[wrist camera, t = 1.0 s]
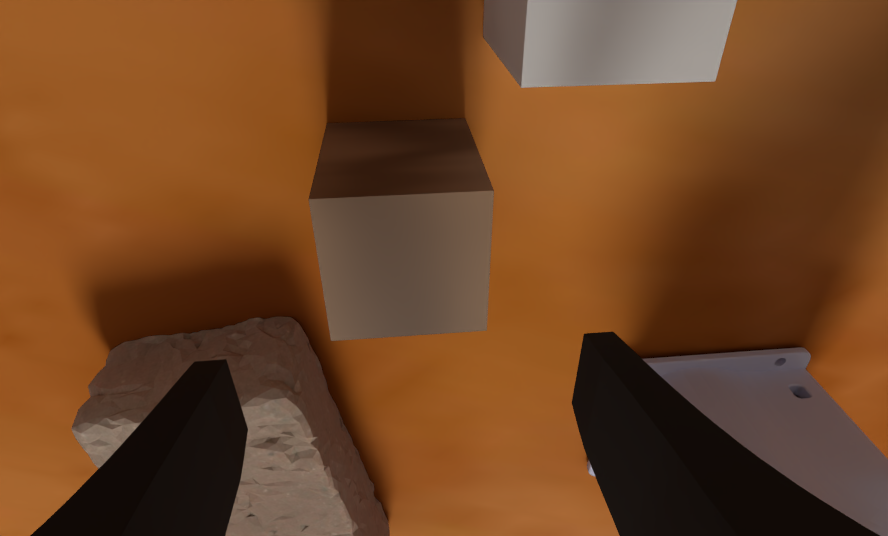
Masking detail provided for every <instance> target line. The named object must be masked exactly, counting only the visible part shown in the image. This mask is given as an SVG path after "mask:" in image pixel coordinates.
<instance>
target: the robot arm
mask: <svg viewBox="0 0 888 536" xmlns="http://www.w3.org/2000/svg"><path fill="white" fill-rule="evenodd" d="M810 358H811V355H810V353H809V352H808V351H807V350H806V349H805V348H801V347H799V348H785V349H771V350H757V351H744V352H730V353H716V354H702V355H689V356H675V357H661V358H647V359H642V358H641V357H640V356H638V355H637V354H636V353H635V352H634V351H633V350H632V349H631V348H630V347H629V346H628V345H627V344H626V343H625V342H624V341H622V340H621V339H620V338H619V337H618V336H617V335H616V334H615V333H614V332H602V333H588V334H584V337H583V343H582V348H581V354H580V360H579V365H578V371H577V377H576V382H575V388H574V393H573V399H572V405H573V409H574V413H575V417H576V421H577V424H578V428H579V432H580V435H581V439H582V442H583V446H584V449H585V452H586V454H587V457H588V464H587V469H588V472H589V474H590V475H592V476H596V479H597V481H598V484H599V486H600V489H601V491H602V494H603V496H604V498H605V501H606V503H607V506H608V508H609V511H610V513H611V515H612V518H613V520H614V523H615V525H616V528H617V530H618V532H619V535H620V536H888V459H887V458H886V457H885V456H884V455H883V453H882V452H881V451H880V450H879V449H878V448H877V447H876V446H875V445H874V444H873V443H872V441H871V440H870V439H869V438H868V437H867V436H866V435H865V434H864V433H863V432H862V430H861V429H860V428H859V427H858V426H857V425H856V424H855V423H854V422H853V421H852V419H851V418H850V417H849V416H848V415H847V414H846V413H845V412H844V411H843V410H842V408H841V407H840V406H839V405H838V404H837V403H836V402H835V401H834V400H833V399H832V397H831V396H830V395H829V394H828V393H827V392H826V391H825V390H824V389H823V388H822V387H821V385H820V384H819V383H818V382H817V381H816V380H815V379H814V378H813V377H812V376H811V374H810V373H809V372H808V371H807V370H806V367H807V365H808V363H809V361H810ZM247 433H248V427H247V424H246V421H245V417H244V414H243V411H242V408H241V405H240V401H239V398H238V395H237V392H236V389H235V385H234V382H233V379H232V376H231V373H230V369H229V366H228V363H227V360H226V359H223V360H209V361H195V362H194V363H193V364H192V365H191V366H190V367H189V368H188V369H187V370H186V371H185V373H184V374H183V375H182V376H181V377H180V378H179V379H178V381H177V382H176V383H175V384H174V385H173V386H172V388H171V389H170V390H169V391H168V392H167V393H166V395H165V396H164V397H163V398H162V399H161V400H160V402H159V403H158V404H157V405H156V406H155V407H154V409H153V410H152V411H151V412H150V413H149V414H148V415H147V417H146V418H145V419H144V420H143V421H142V422H141V423H140V425H139V426H138V427H137V428H136V429H135V430H134V431H133V432H132V433H131V435H130V436H129V437H128V438H127V439H126V440H125V441H124V442H123V443H122V445H121V446H120V447H119V448H118V449H117V450H116V451H115V452H114V453H113V454H112V456H111V457H110V458H109V459H108V460H107V461H106V462H105V463H104V464H103V465H102V466H101V467H100V468H99V469H98V470H97V471H96V472H95V473H94V474H93V475H92V476H91V477H90V478H89V479H88V480H87V481H86V482H85V483H84V484H83V486H82V487H81V488H80V489H79V490H78V491H77V492H76V493H75V494H74V495H73V496H72V497H71V498H70V499H69V500H68V501H67V502H66V503H65V504H64V505H63V506H62V507H61V508H60V509H58V510H57V511H56V512H55V513H54V514H53V515H52V516H51V517H50V518H49V519H48V520H47V521H46V522H45V523H44V524H43V525H42V526H41V527H39V528H38V529H37V530H36V531H35V532H34V533H33V534H32V535H31V536H225V535H226V531H227V528H228V524H229V520H230V517H231V513H232V509H233V506H234V502H235V498H236V495H237V491H238V487H239V483H240V480H241V474H242V468H243V462H244V455H245V448H246V441H247Z"/></svg>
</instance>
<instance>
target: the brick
mask: <svg viewBox="0 0 888 536" xmlns="http://www.w3.org/2000/svg"><path fill="white" fill-rule="evenodd" d="M223 359H226V360H227V363H228V366H229V369H230V373H231V376H232V379H233V382H234V385H235V389H236V392H237V395H238V398H239V401H240V405H241V408H242V411H243V414H244V417H245V421H246V424H247V427H248V433H247V441H246V448H245V455H244V462H243V468H242V474H241V480H240V483H239V487H238V491H237V495H236V498H235V502H234V506H233V509H232V513H231V517H230V520H229V524H228V528H227V531H226V535H225V536H390V533H389V524H388V520H387V518H386V516H385V514H384V511H383V509H382V505H381V503H380V502H379V501H378V500H377V499H376V498H375V497H374V484H373V483H372V482H371V481H370V480H369V477H368V474H367V472H366V470H365V468H364V465H363V463H362V461H361V459H360V455H359V452H358V450H357V449H356V447H355V446H354V445H353V442H352V438H351V436H350V434H349V433H348V430H347V428H346V427H345V425H344V424H343V420H342V417H341V415H340V413H339V411H338V408H337V406H336V404H335V402H334V400H333V399H332V397H331V395H330V393H329V392H328V387H327V382H326V379H325V377H324V375H323V371H322V367H321V365H320V362H319V360H318V357H317V356H316V354H315V352H314V351H313V349H312V347H311V345H310V343H309V340H308V337H307V336H306V334H305V332H304V331H303V329H302V327H301V326H300V324H299V323H298V322H297V321H295V320H294V319H293V318H291V317H272V318H268V319H262V318H252V319H248V320H246V321H244V322H242V323H237V324H236V325H233V326H225V327H224V328H221V329H212V330H201V331H199V332H193V333H191V334H187V333H179V334H174V335H155V336H147V337H144V338H141V339H138V340H133V341H128V342H124V343H121V344H120V345H118V346H117V347H115V348H114V349H112V350H111V351H110V353H109V355H108V358H107V360H106V366H105V367H104V368H103V369H102V370H101V371H100V372H99V373H98V374H97V375H96V376H95V378H94V379H93V380H92V382H91V383H90V384H89V386H88V388H89V392H90V396H91V397H90V398H89V399H88V400H87V401H86V402H85V403H84V404H83V405H82V406H81V407H80V409H79V410H78V412H77V415H76V418H75V420H74V423H73V426H72V431H73V433H74V436H75V437H76V440H77V441H78V442H79V443H80V445H81V446H82V448H83V449H84V450H85V451H86V453H88V455H89V456H90V458H91V460H92V461H93V463H94V464H95V465H96V466H97V467H98V469H99V468H100V467H101V466H102V465H103V464H104V463H105V462H106V461H107V460H108V459H109V458H110V457H111V456H112V454H113V453H114V452H115V451H116V450H117V449H118V448H119V447H120V446H121V445H122V443H123V442H124V441H125V440H126V439H127V438H128V437H129V436H130V435H131V433H132V432H133V431H134V430H135V429H136V428H137V427H138V426H139V425H140V423H141V422H142V421H143V420H144V419H145V418H146V417H147V415H148V414H149V413H150V412H151V411H152V410H153V409H154V407H155V406H156V405H157V404H158V403H159V402H160V400H161V399H162V398H163V397H164V396H165V395H166V393H167V392H168V391H169V390H170V389H171V388H172V386H173V385H174V384H175V383H176V382H177V381H178V379H179V378H180V377H181V376H182V375H183V374H184V373H185V371H186V370H187V369H188V368H189V367H190V366H191V365H192V364H193V363H194V362H195V361H209V360H223Z"/></svg>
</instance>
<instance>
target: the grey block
mask: <svg viewBox="0 0 888 536" xmlns="http://www.w3.org/2000/svg"><path fill="white" fill-rule="evenodd" d="M736 2H737V0H484V22H483V38H484V39H485V40H486V42H487V43H488V44H489V46H490V47H491V48H492V50H493V51H494V52H495V53H496V55H497V56H498V57H499V59H500V60H501V61H502V63H503V64H504V65H505V67H506V68H507V69H508V71H509V72H510V73H511V75H512V76H513V77H514V79H515V80H516V81H517V83H518V84H519V85H520V87H521V88H522V87H553V86H585V85H617V84H649V83H681V82H712V81H715V80H716V77H717V73H718V69H719V65H720V62H721V58H722V54H723V50H724V47H725V43H726V39H727V36H728V32H729V28H730V24H731V21H732V17H733V13H734V10H735V6H736Z"/></svg>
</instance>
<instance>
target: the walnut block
mask: <svg viewBox="0 0 888 536" xmlns="http://www.w3.org/2000/svg"><path fill="white" fill-rule="evenodd" d="M493 197H494V190H493V187H492V185H491V182H490V180H489V177H488V175H487V172H486V170H485V167H484V164H483V162H482V159H481V157H480V154H479V152H478V149H477V147H476V144H475V142H474V139H473V137H472V134H471V132H470V129H469V126H468V124H467V121H466V119H465V118H458V119H430V120H402V121H375V122H347V123H327V125H326V129H325V133H324V138H323V142H322V146H321V150H320V154H319V158H318V162H317V167H316V171H315V175H314V179H313V183H312V187H311V192H310V196H309V205H310V211H311V217H312V224H313V230H314V236H315V243H316V249H317V255H318V262H319V268H320V274H321V281H322V287H323V293H324V300H325V306H326V312H327V319H328V325H329V331H330V338H331V341H337V340H352V339H367V338H382V337H397V336H412V335H427V334H442V333H457V332H472V331H487V313H488V294H489V275H490V255H491V236H492V216H493Z"/></svg>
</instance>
